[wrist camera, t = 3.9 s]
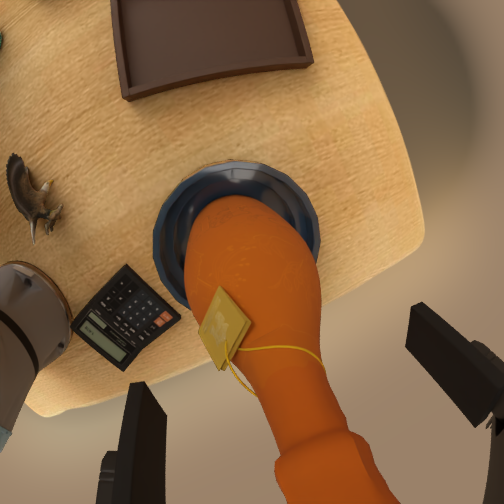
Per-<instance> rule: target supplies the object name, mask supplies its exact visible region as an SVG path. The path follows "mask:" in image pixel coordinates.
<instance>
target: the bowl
mask: <svg viewBox="0 0 504 504" xmlns="http://www.w3.org/2000/svg"><path fill="white" fill-rule="evenodd" d="M228 195H244V196H248V197H252V198H254V199H256V200H258V201H260V202H262V203H263V204H265V205H266V206H268V207H269V208H271V209H272V210H273V211H275V212H276V213H277V214H278V215H280V216H281V217H282V218H283V219H284V220H286V221H287V222H288V223H289V224H290V225H291V226H292V227H293V228H294V229H295V230H296V231H297V232H298V233H299V234H300V236H301V237H302V238H303V240H304V241H305V242H306V244H307V246H308V247H309V249H310V251H311V253H312V255H313V258H314V260H315V263H317V258H318V253H319V248H320V242H321V240H320V231H319V223H318V217H317V214H316V212H315V210H314V208H313V206H312V204H311V202H310V200H309V198H308V196H307V194H306V193H305V192H304V191H303V190H302V189H301V188H300V187H299V186H298V185H297V184H296V183H295V182H294V181H293V180H292V179H291V178H290V177H289V176H288V175H286V174H284V173H282V172H280V171H278V170H275V169H273V168H271V167H269V166H267V165H265V164H262V163H258V162H252V161H243V160H232V159H229V160H224V161H220V162H215V163H211V164H207V165H204V166H203V167H201V168H199V169H198V170H196V171H194V172H193V173H191V174H190V175H188V176H186V177H185V178H184V179H182V181H181V182H180V183H179V184H178V185H177V187H176V188H175V189H174V190H173V192H172V193H171V194H170V195H169V196H168V198H167V199H166V201H165V202H164V203H163V205H162V207H161V210H160V212H159V215H158V218H157V221H156V224H155V227H154V229H153V259H154V262H155V265H156V268H157V271H158V274H159V277H160V280H161V281H162V283H163V284H164V286H165V287H166V288H167V289H168V291H169V292H170V293H171V294H172V296H173V297H174V298H175V300H177V301H178V302H179V303H180V304H182V305H183V306H185V307H186V308H188V309H189V310H191V308H190V306H189V303H188V300H187V296H186V292H185V284H184V265H185V257H186V251H187V245H188V240H189V235H190V232H191V228H192V225H193V223H194V221H195V219H196V217H197V216H198V214H199V213H200V211H201V210H202V209H203V208H204V207H205V206H206V205H208V204H209V203H210V202H212V201H214V200H216V199H218V198H220V197H223V196H228Z"/></svg>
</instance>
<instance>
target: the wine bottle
mask: <svg viewBox="0 0 504 504" xmlns="http://www.w3.org/2000/svg"><path fill="white" fill-rule="evenodd" d="M184 284H185V292H186V296H187V300H188V303H189V306H190V308H191V311H192V313H193V315H194V317H195V319H196V321H197V322H198V324H199V325H200V329H199V331H198V333H199V335H200V337H201V339H202V341H203V343H204V345H205V347H206V349H207V351H208V352H209V354H210V356H211V358H212V360H213V362H214V363H215V365H216V367H217V369H218V371H220V369H221V370H223V371H225V369H226V368H227V366H228V365H229V367H230V369H231V371H232V373H233V374H234V376H235V377H236V378H237V380H238V381H239V382H240V383H241V384H242V385H243V386H244V387H245V388H246V389H247V390H248V391H249V392H251V393H252V394H253V395H255V396H256V397H258V399H259V401H260V403H261V405H262V408H263V410H264V413H265V415H266V418H267V420H268V422H269V425H270V427H271V430H272V432H273V435H274V437H275V440H276V443H277V446H278V449H279V451H280V455H281V456H280V457H279V458H278V459H277V460H276V461H275V470H274V472H275V477H276V481H277V483H278V485H279V487H280V489H281V491H282V492H283V494H284V496H285V498H286V501H287V504H400V502H399V501H398V500H397V499H396V497H395V496H394V495H393V494H392V492H391V491H390V490H389V488H388V485H387V484H386V481H385V480H384V478H383V477H382V475H381V474H380V473H379V471H378V469H377V467H376V465H375V463H374V459H373V456H372V452H371V449H370V446H369V444H368V443H367V442H366V441H365V439H364V438H363V437H362V436H360V435H358V434H356V433H354V432H351V431H349V429H348V426H347V421H346V417H345V415H344V414H343V412H342V410H341V409H340V406H339V404H338V402H337V399H336V397H335V395H334V393H333V391H332V389H331V387H330V385H329V383H328V380H327V377H326V371H325V368H324V365H323V363H322V359H321V352H320V320H321V287H320V280H319V275H318V271H317V267H316V263H315V260H314V258H313V255H312V253H311V251H310V249H309V247H308V246H307V244H306V242H305V241H304V240H303V238H302V237H301V236H300V234H299V233H298V232H297V231H296V230H295V229H294V228H293V227H292V226H291V225H290V224H289V223H288V222H287V221H286V220H284V219H283V218H282V217H281V216H280V215H278V214H277V213H276V212H275V211H273V210H272V209H271V208H269V207H268V206H266V205H265V204H263V203H262V202H260V201H258V200H256V199H254V198H252V197H248V196H244V195H228V196H223V197H220V198H218V199H216V200H214V201H212V202H210V203H209V204H208V205H206V206H205V207H204V208H203V209H202V210H201V211H200V213H199V214H198V216H197V217H196V219H195V221H194V223H193V225H192V228H191V232H190V235H189V240H188V245H187V251H186V257H185V265H184ZM230 361H231V362H232V363H233V364H234V365H235V366H236V367H237V368H238V369H239V370H240V371H241V372H242V373H243V374H244V376H245V377H246V379H247V380H248V381H249V383H250V384H251V386H252V387H253V389H254V391H255V393H254V392H253V391H252V390H250V389H249V388H248V387H247V386H246V385H245V384H244V383H243V382H242V381H241V380H240V379H239V377H238V376H237V375H236V373H235V372H234V370H233V368H232V366H231V364H230Z"/></svg>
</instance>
